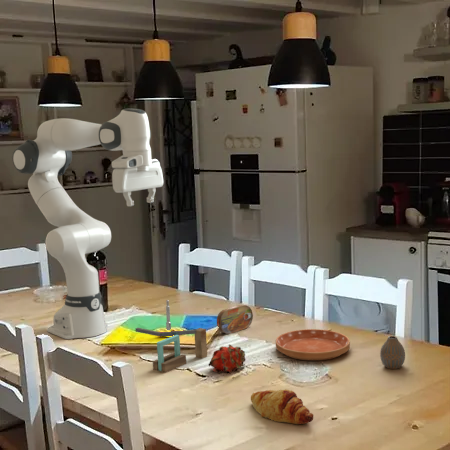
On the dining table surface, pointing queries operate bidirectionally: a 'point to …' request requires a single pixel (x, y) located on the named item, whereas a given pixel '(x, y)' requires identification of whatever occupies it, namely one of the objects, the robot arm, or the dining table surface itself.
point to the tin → (234, 319)
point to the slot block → (170, 362)
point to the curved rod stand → (199, 334)
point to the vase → (392, 353)
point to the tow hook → (168, 316)
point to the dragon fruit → (227, 359)
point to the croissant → (281, 406)
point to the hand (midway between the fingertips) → (140, 204)
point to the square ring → (164, 342)
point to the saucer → (313, 344)
